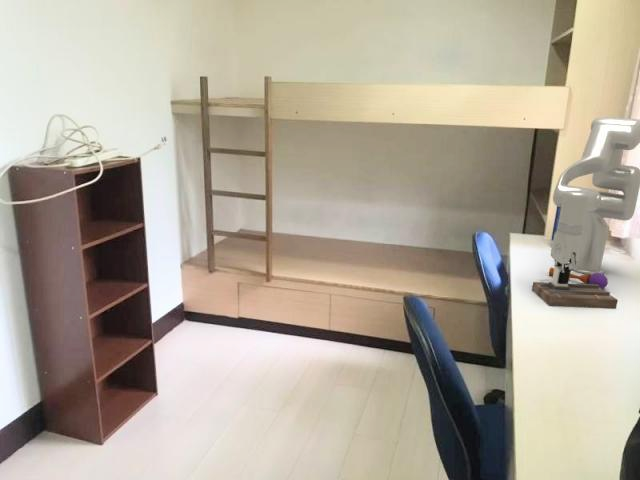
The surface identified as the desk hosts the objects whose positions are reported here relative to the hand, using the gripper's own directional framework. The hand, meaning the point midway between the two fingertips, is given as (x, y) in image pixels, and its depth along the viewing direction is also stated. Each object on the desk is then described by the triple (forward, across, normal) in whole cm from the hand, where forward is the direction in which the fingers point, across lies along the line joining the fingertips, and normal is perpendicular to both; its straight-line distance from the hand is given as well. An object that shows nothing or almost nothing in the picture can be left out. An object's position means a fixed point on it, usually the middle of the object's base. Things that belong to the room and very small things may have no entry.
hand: (560, 281), depth 175 cm
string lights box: (+6, -64, +34) cm, 73 cm away
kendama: (+7, -17, +15) cm, 23 cm away
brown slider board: (+6, 0, +5) cm, 8 cm away
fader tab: (+3, 0, 0) cm, 3 cm away
